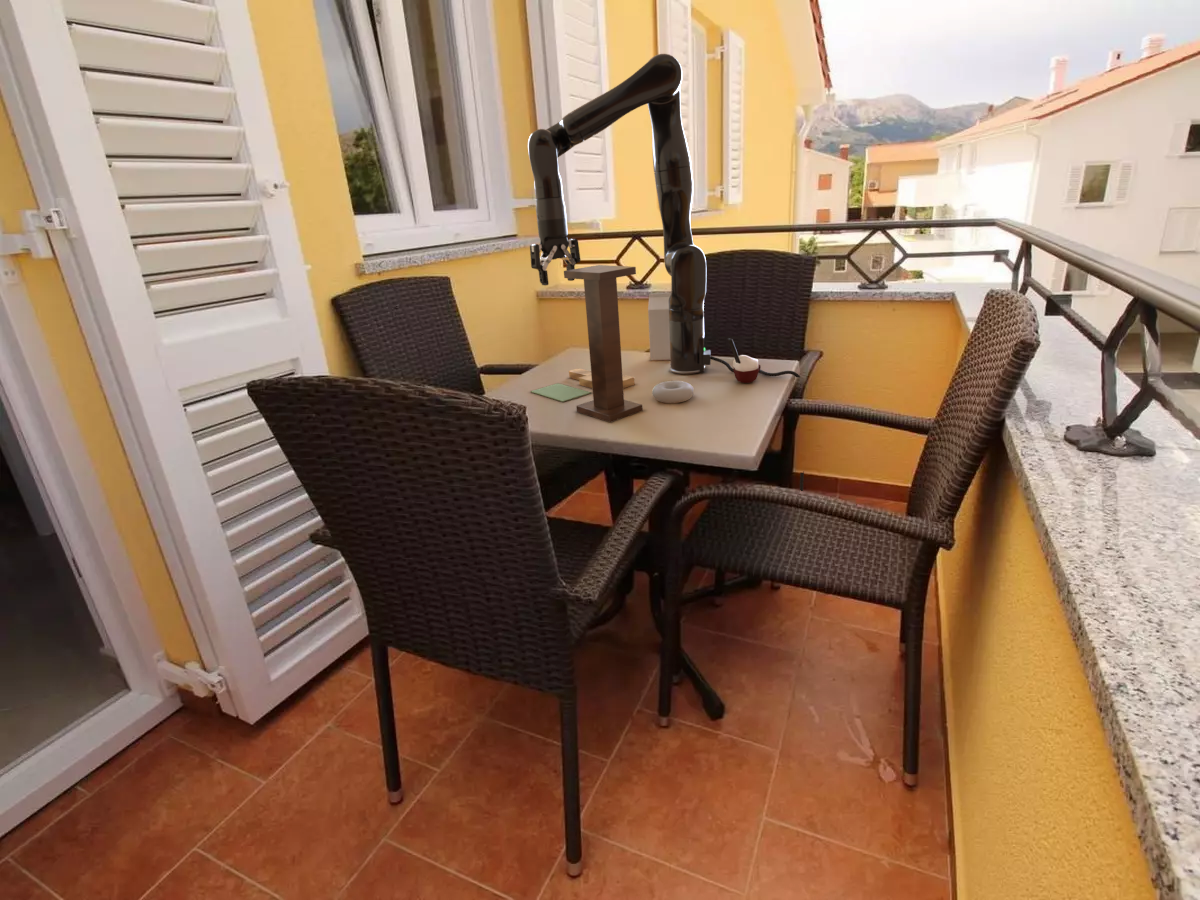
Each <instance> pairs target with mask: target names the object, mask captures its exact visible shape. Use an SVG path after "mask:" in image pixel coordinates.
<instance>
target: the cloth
mask: <svg viewBox="0 0 1200 900" xmlns="http://www.w3.org/2000/svg"><path fill="white" fill-rule="evenodd" d="M530 393H532V394H535V395H539V396H541V397H545V398H548V399H551V400H554V401H557V402H561V403H565V402H569V401H571V400H575V399H577V398H581V397H584V396H588V395H591V394H592V392H591V391H588V390H584V389H581V388H577V387H573V386H569V385H566V384H562V383H559V382H557V383H554V384H550V385H548V386H543V387H541V388H537V389H534V390H530Z"/></svg>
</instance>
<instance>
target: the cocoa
mask: <svg viewBox="0 0 1200 900" xmlns="http://www.w3.org/2000/svg"><path fill="white" fill-rule="evenodd" d="M727 341H728V343H729V346H730V349H731V352H732V355H733V358H734V359H733V360H732V366H733V367H732V368H733V369H734V372H733V373H734V377H735V380H736V381H738V382H739V383H741V384H752V383H753V382H755V381H756V380H757V379H758V376H759V374H760V373H759V371H760V370H761V367H762V366H761V364H759V360H758V359H757V358H754V357H751V356H749V355H746V354H740V355H739V354H738V351H737V348H736V345H735V342H734V339H733V338H730V337H728V338H727Z"/></svg>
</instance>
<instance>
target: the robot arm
mask: <svg viewBox="0 0 1200 900" xmlns="http://www.w3.org/2000/svg"><path fill="white" fill-rule="evenodd" d="M682 82H683V69H682V66H681V64H680V61H679V60H678V59H677V58H676V57H675V56H673V55H671V54H668V53H658V54H656V55H654V56H652V57H651V58H650V59H649V60H648V61H647V62H646V63H645V64H643V65H642V66H641V67H640V68H638V70H636V72H634V73H633V74H632V75H631V76H629V77H628V78H626V79H625V80H623V81H622V82H621V83H618V85H615V86H614V87H613V88H611V89H609V90H607V91H606V92H604V93H602V94H600V95H599V96H596V97H595V98H593V99H591V100H589V101H587V102H585V103H584V104H581V106H579V107H577V108H576V109H573V110H572V111H570V112H568V113H567V114H565V115H564V116H563V117H562V119H561V120H560V121H557V122H556V123H554V124H553V125H551V126H550V127H547V128H546V129H545V128H539V129H536V130H534V131H533V132H532V133H531V134H530V136H529V138H528V141H527V150H528V158H529V163H530V167H531V172H532V175H533V176H532V177H533V186H534V195H535V215H536V223H537V233H538V238H539V240H540V242H539V243H531V244H530V245H529V255H530V267H531V269H534V270H537V271H538V276H539V283H540V284H541V286H549V276H548V270H547V269H548V266H549V264H551V262H552V260H553V261H554V260H557V259H561V260H562V261H563V262H564V263H565V264H566V266H565V268H566V270H572V269H576V268H575V267H576V264H577V263H580V262H581V254H580V246H579V245H580V244H579V240H578V239H577V238H569V239H568V235H569V230H568V220H567V219H568V218H567V209H566V203H565V199H564V190H563V180H562V176H561V175H560V171H559V160H558V158H560V157H561V156H563V155H565V153H567V152H568V151H570V150H571V149H572V148H574V147H575V146H577V145H580V144H582V143H584V142H586V141H588V140H590V139H591V138H592V137H594V136H597V135H598V134H599V133H601V132H603V131H604V130H607V128H609V127H610V126H612V124H614V123H616V122H617V121H618V120H620V119H622V118H623V117H624V116H626V115H627V114H629V113H631V112H632V111H633V112H634V110H636V109H638V108H640V107H643V106H646V105H647V108H648V112H649V119H650V123H651V133H652V136H651V137H652V138H651V139H652V147H651V148H652V164H653V166H652V167H653V174H654V182H655V189H656V195H657V201H658V202H657V203H658V208H659V213H660V218H661V223H662V234H663V261H664V262H663V263H664V267H665V270H666V272H667V274H668V275H669V276H670V277H671V282H670V284H671V286H670V287H671V288H670V289H671V291H670V293H671V295H670V297H669V333H670V360H669V361H670V362H669V365H670V367H669V369H670V370H669V371H670V372H672V373H673V374H678V375H693V374H695V375H696V374H700V373H705V369H706V366H711V362H712V361H714V362H718V363H721V364H722V365H724V366H726V367H727V369H728V370H729V371H730V372H732V373H734V367H732V366H731V364H730V363H729V362H727V361H726V360H724V359H721V358H718V357H715V356H713V355H711V353H712V350H711V349H706V346H705V313H704V312H705V310H704V308H705V307H704V306H705V304H704V303H705V298H706V293H707V260H706V256H705V253H704V251H703V250H702V249H701V248H700V247H699V246H697V245H695V243H694V241H693V239H694V238H693V234H692V227H691V214H692V207H693V206H692V204H693V197H694V178H693V169H692V167H693V166H692V159H691V154H690V150H689V146H688V142H687V141H688V140H687V138H686V134H685V130H684V127H683V121H682V111H681V109H682V108H681V86H682ZM568 249H569V250H568ZM540 254H541V255H540ZM566 279H567V281H568V282H573V281H575V279H571V278H566ZM711 360H712V361H711ZM758 374H761V375H762V376H763V375H764V376H767V377H781V376H784V375H791V376H794V377H795V378H801V375H800V374H799V373H798V372H795V371H793V370H783V371H778V372H767V371H765V370H763V369H760V371H759V373H758ZM804 477H805V471H802V472H800V474H799V491H800V490H801V491H803V492H804Z"/></svg>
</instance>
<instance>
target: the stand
mask: <svg viewBox="0 0 1200 900" xmlns="http://www.w3.org/2000/svg"><path fill="white" fill-rule="evenodd" d="M633 275H637V267H636V266H631V265H630V266H627V265H607V264H606V265H604V264H598V265H591V266H585V267H579V268H575V269H572V270H567V269H566V270H563V277H564V279H567V278H571V279H574V280H583V288H584V300H585V301H584V302H585V310H586V311H585V312H586V325H587V337H588V347H589V348H588V349H589V362H590V363H589V364H590V371H591V376H592V388H591V389H592V397H593V399H592V400H589V401H587V402H583V403H581V404H577V405H575V407H576V408H575V409H576V413H580V414H583V415H586V416H589V417H591V418H595V419H598V420H601V421H605V422H608V423H612V422H616V421H618V420H621V419H624V418H627V417H629V416H632V415H635V414H638V413H640V412H643V411H644V409H643V404H641V403H638V402H634V401H631V400H626V399H625V395H624V388H623V377H622V375H623V362H622V347H621V331H620V330H621V329H620V313H619V298H618V297H619V296H618V283H617V280H618V279H617V278H621V277H622V278H623V277H628V276H633Z"/></svg>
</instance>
